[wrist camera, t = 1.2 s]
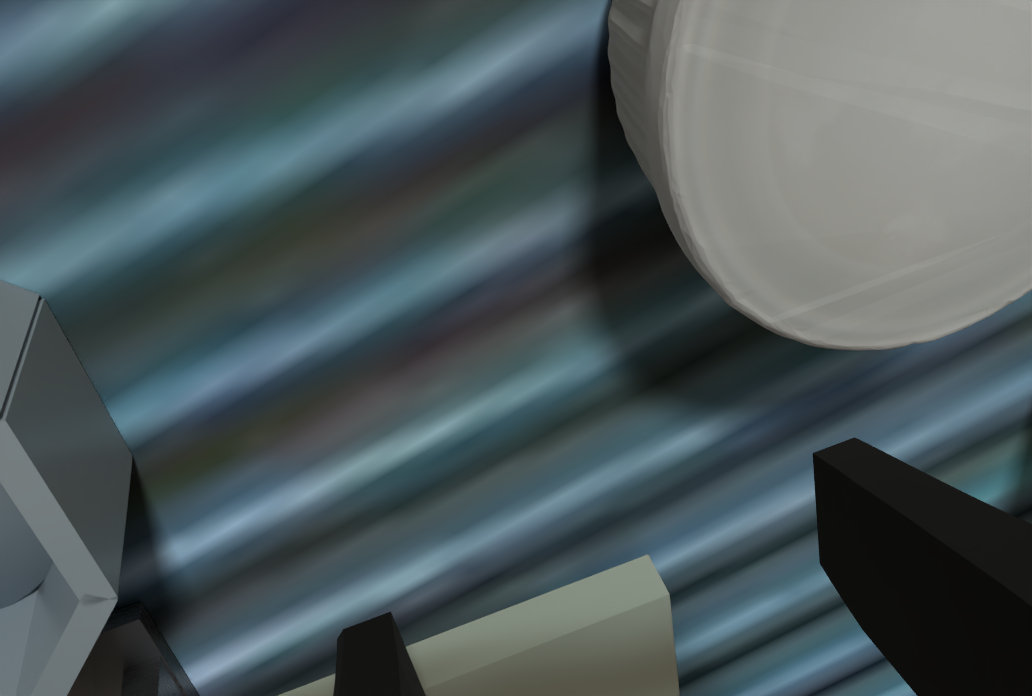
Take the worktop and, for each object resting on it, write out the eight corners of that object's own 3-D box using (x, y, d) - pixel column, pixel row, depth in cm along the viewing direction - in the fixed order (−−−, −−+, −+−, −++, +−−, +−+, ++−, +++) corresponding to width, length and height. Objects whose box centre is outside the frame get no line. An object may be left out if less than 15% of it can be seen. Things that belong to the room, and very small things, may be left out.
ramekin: (1062, -355, 19) (1330, -404, 14) (1008, 179, 24) (1185, 261, 20) (514, -237, 17) (624, -252, 13) (597, 304, 23) (692, 424, 18)
